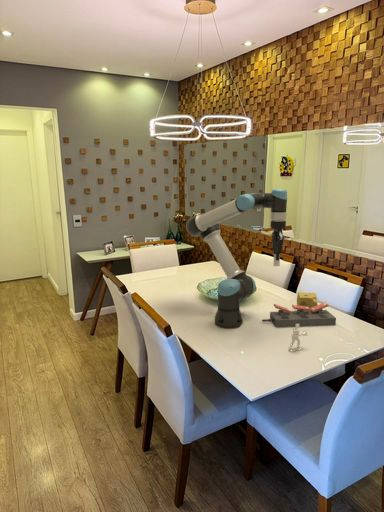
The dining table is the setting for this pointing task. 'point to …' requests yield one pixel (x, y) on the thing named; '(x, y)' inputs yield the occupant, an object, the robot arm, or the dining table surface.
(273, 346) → the dining table surface
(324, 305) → the rocker
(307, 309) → the rocker
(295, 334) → the figurine
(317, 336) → the dining table surface
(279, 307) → the rocker
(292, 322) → the power strip
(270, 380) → the dining table surface
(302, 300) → the cheese
